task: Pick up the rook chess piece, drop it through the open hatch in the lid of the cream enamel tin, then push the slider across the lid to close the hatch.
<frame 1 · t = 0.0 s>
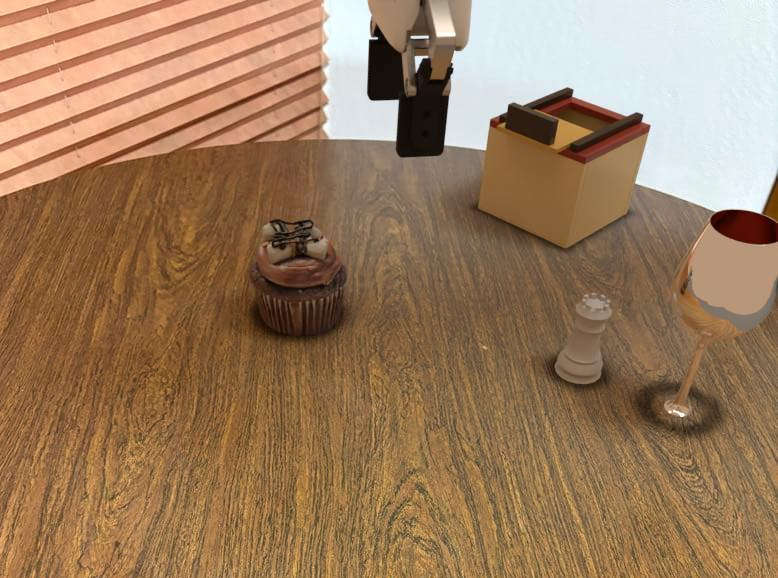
hand: (403, 125, 61), 24 cm above the table, tool pointing down, fingers open, 9 cm apart
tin: (552, 213, 105), on the table
slider: (547, 119, 93), point 12 cm above the table, slide at 7.0 cm
wineglass: (675, 412, 79), on the table
cupcake: (300, 318, 87), on the table
rook chess piece: (576, 375, 83), on the table
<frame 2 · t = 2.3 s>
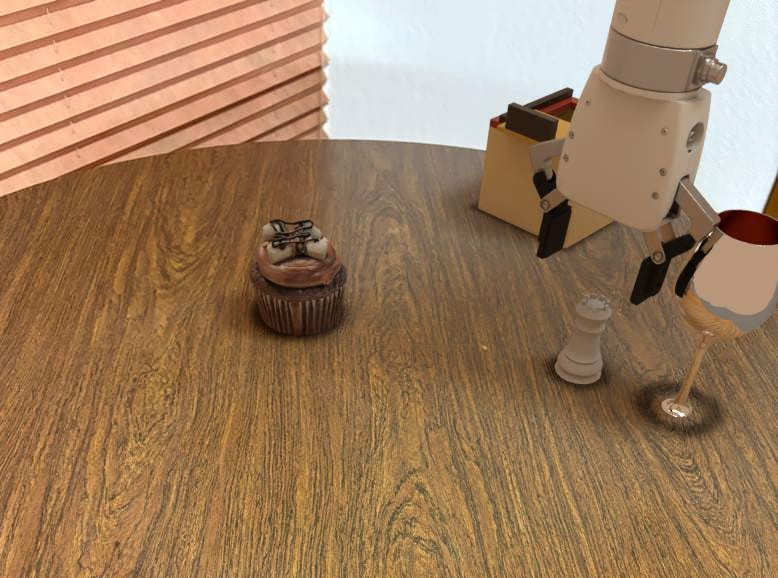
hand: (594, 275, 74), 11 cm above the table, tool pointing down, fingers open, 9 cm apart
wineglass: (675, 412, 79), on the table, touching gripper
everything else where it was.
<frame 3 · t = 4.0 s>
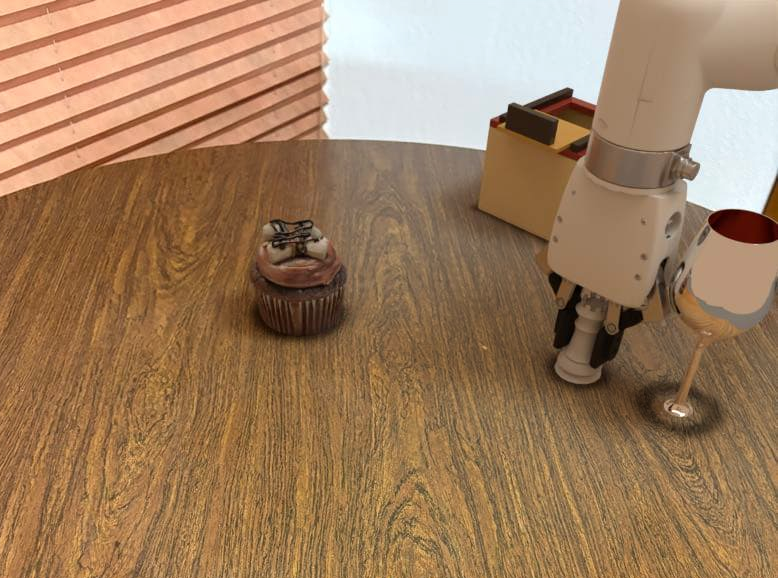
hand: (582, 350, 81), 3 cm above the table, tool pointing down, fingers closed on rook chess piece, 3 cm apart
wineglass: (675, 412, 79), on the table
rook chess piece: (576, 375, 83), on the table, touching gripper
everything else where it was.
when the fingers open (11 cm above the table, at t = 10.2 s): rook chess piece drops 8 cm, resting on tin.
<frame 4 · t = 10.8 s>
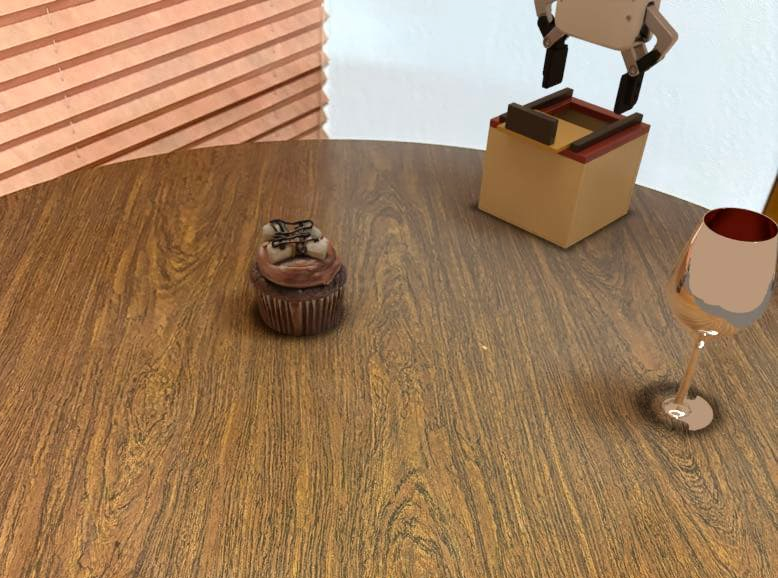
hand: (586, 98, 96), 13 cm above the table, tool pointing down, fingers open, 9 cm apart
rook chess piece: (566, 206, 105), resting on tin
everything else where it was.
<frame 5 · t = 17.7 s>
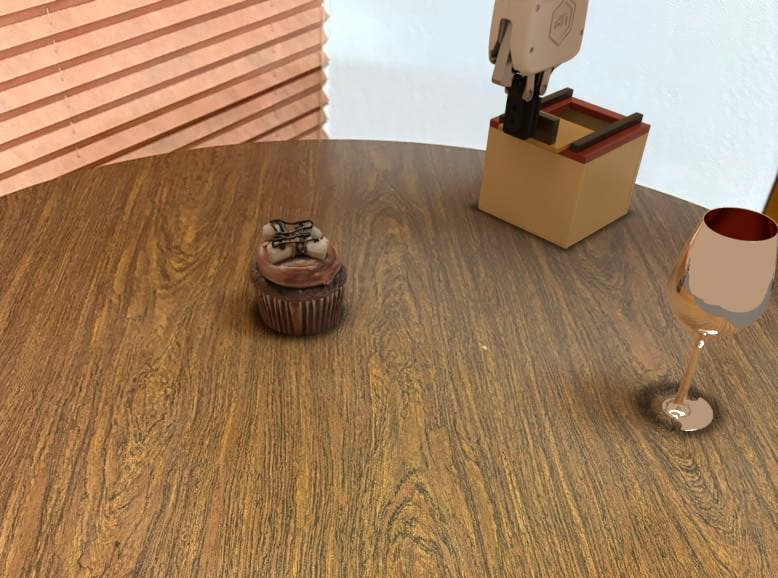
hand: (518, 134, 91), 12 cm above the table, tool pointing down, fingers closed
slider: (548, 118, 93), point 12 cm above the table, slide at 6.8 cm, touching gripper
everything else where it was.
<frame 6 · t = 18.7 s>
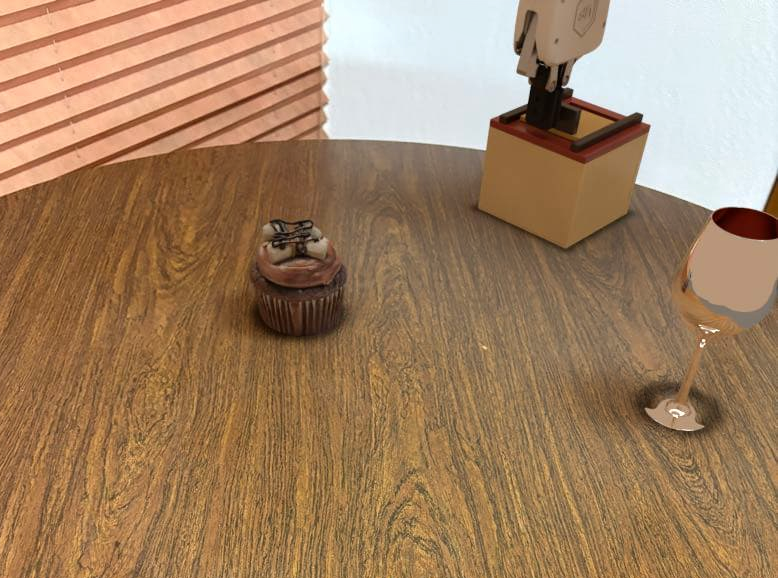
hand: (540, 124, 93), 12 cm above the table, tool pointing down, fingers closed
slider: (569, 109, 95), point 12 cm above the table, slide at 2.8 cm, touching gripper
everything else where it was.
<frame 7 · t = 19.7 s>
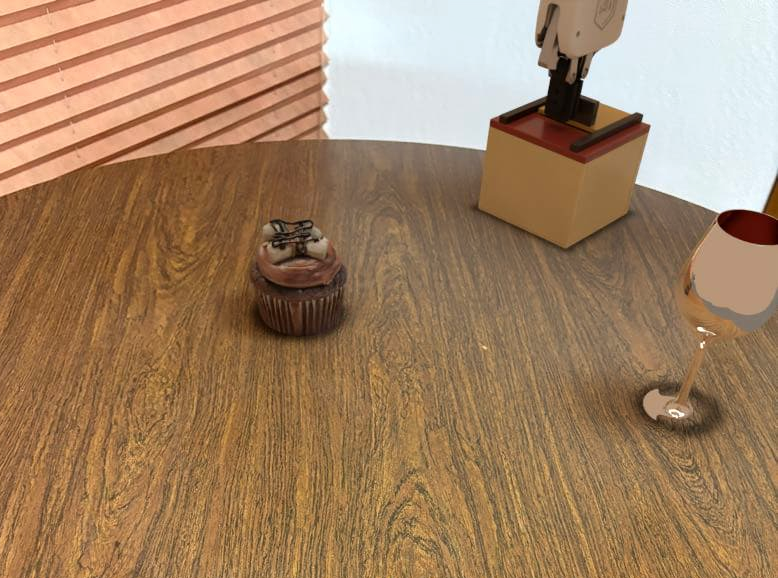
hand: (559, 116, 94), 12 cm above the table, tool pointing down, fingers closed
slider: (587, 101, 97), point 12 cm above the table, slide at -0.6 cm, touching gripper
everything else where it was.
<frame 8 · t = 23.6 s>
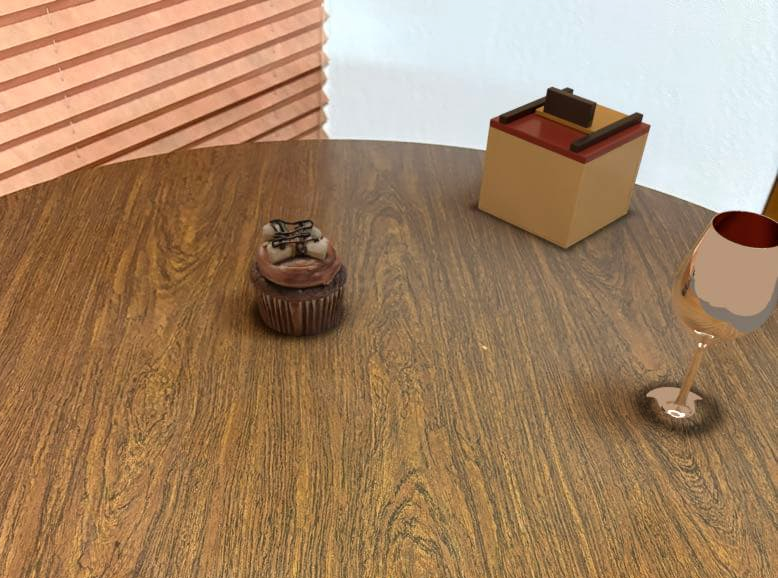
slider: (584, 102, 97), point 12 cm above the table, slide at 0.0 cm
everything else where it was.
at the end: rook chess piece inside the target area on the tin (2.1 cm from its centre), point 0.4 cm above the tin's base; slider slide at 0.0 cm; the gripper is holding nothing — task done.
